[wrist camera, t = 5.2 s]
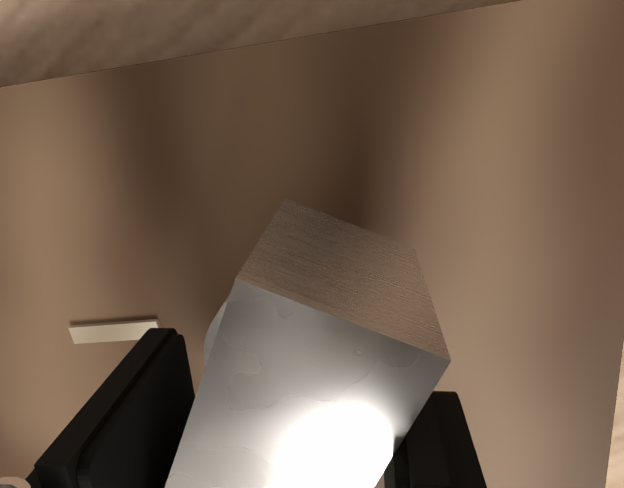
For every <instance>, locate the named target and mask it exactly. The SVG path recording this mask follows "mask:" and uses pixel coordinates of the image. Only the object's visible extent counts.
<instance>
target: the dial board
mask: <svg viewBox="0 0 624 488" xmlns="http://www.w3.org/2000/svg"><path fill="white" fill-rule="evenodd" d="M285 198H286V199H289V200H291V201H294V202H296V203H299V204H302V205H304V206H307V207H309V208H312V209H314V210H317V211H320V212H322V213H325V214H327V215H330V216H332V217H335V218H337V219H340V220H343V221H345V222H348V223H350V224H353V225H355V226H358V227H361V228H363V229H366V230H368V231H371V232H373V233H376V234H378V235H381V236H384V237H386V238H389V239H391V240H394V241H396V242H399V243H402V244H404V245H407V246H409V247H412V248H414V249H415V251H416V254H417V257H418V260H419V263H420V266H421V269H422V272H423V275H424V278H425V281H426V285H427V288H428V291H429V294H430V297H431V300H432V303H433V306H434V309H435V312H436V315H437V318H438V321H439V324H440V327H441V331H442V334H443V337H444V340H445V343H446V346H447V349H448V352H449V355H450V358H451V362H450V364H449V365H448V367H447V369H446V370H445V372H444V374H443V375H442V377H441V378H440V380H439V382H438V383H437V385H436V387H435V388H434V390H433V391H454V392H456V393H457V394H458V396H459V399H460V402H461V405H462V408H463V412H464V415H465V418H466V421H467V424H468V428H469V431H470V434H471V437H472V441H473V444H474V447H475V450H476V453H477V457H478V460H479V463H480V466H481V469H482V473H483V476H484V479H485V482H486V486H487V488H605V484H606V476H607V468H608V460H609V452H610V444H611V436H612V428H613V420H614V412H615V405H616V397H617V389H618V381H619V373H620V365H621V357H622V349H623V341H624V0H520V1H514V2H508V3H502V4H496V5H490V6H484V7H478V8H472V9H466V10H460V11H454V12H448V13H442V14H436V15H430V16H424V17H418V18H412V19H406V20H400V21H394V22H389V23H383V24H377V25H371V26H365V27H359V28H353V29H347V30H341V31H335V32H329V33H323V34H317V35H311V36H305V37H299V38H293V39H287V40H281V41H275V42H269V43H263V44H257V45H251V46H245V47H239V48H233V49H227V50H221V51H215V52H209V53H203V54H197V55H191V56H185V57H179V58H173V59H167V60H161V61H155V62H149V63H143V64H137V65H131V66H125V67H119V68H113V69H107V70H101V71H95V72H89V73H83V74H77V75H71V76H65V77H59V78H53V79H47V80H41V81H35V82H29V83H23V84H17V85H11V86H5V87H0V478H2V477H18V478H21V479H26V478H27V477H28V475H29V474H30V473H31V472H32V471H33V469H34V468H35V467H34V464H35V463H36V461H37V460H38V459H39V458H40V457H41V456H42V454H43V453H44V452H45V451H46V450H47V448H48V447H49V446H50V445H51V444H52V443H53V441H54V440H55V439H56V438H57V437H58V435H59V434H60V433H61V432H62V431H63V430H64V428H65V427H66V426H67V425H68V424H69V422H70V421H71V420H72V419H73V418H74V416H75V415H76V414H77V413H78V412H79V411H80V409H81V408H82V407H83V406H84V405H85V403H86V402H87V401H88V400H89V399H90V398H91V396H92V395H93V394H94V393H95V392H96V390H97V389H98V388H99V387H100V386H101V385H102V383H103V382H104V381H105V380H106V379H107V377H108V376H109V375H110V374H111V373H112V371H113V370H114V369H115V368H116V367H117V366H118V364H119V363H120V362H121V361H122V360H123V358H124V357H125V356H126V355H127V354H128V353H129V351H130V350H131V349H132V348H133V347H134V345H135V344H136V343H137V342H138V341H139V340H140V338H141V337H142V336H143V335H144V334H145V332H146V331H147V330H148V329H150V328H174V329H176V331H177V333H178V334H182V335H183V336H184V339H185V344H186V349H187V355H188V360H189V366H190V371H191V377H192V382H193V388H194V393H195V397H196V394H197V391H198V388H199V385H200V382H201V379H202V376H203V373H204V370H205V362H204V342H205V338H206V334H207V331H208V329H209V327H210V324H211V323H212V321H213V319H214V318H215V316H216V314H217V313H218V311H219V310H220V308H221V306H222V305H223V303H224V301H225V300H226V298H227V296H228V295H229V293H230V291H231V290H232V287H233V285H234V282H235V279H236V277H237V275H238V274H239V272H240V271H241V269H242V267H243V266H244V264H245V262H246V261H247V259H248V258H249V256H250V254H251V253H252V251H253V250H254V248H255V246H256V245H257V243H258V242H259V240H260V238H261V237H262V235H263V234H264V232H265V230H266V229H267V227H268V226H269V224H270V222H271V221H272V219H273V218H274V216H275V214H276V213H277V211H278V209H279V208H280V206H281V205H282V203H283V201H284V200H285ZM374 488H385V487H384V472H383V473H382V475H381V476H380V478H379V480H378V481H377V483H376V485H375V486H374Z"/></svg>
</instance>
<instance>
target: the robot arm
mask: <svg viewBox="0 0 624 488" xmlns="http://www.w3.org/2000/svg"><path fill="white" fill-rule="evenodd" d="M194 400H195V393H194V388H193V382H192V377H191V371H190V366H189V360H188V355H187V349H186V344H185V339H184V336H183V335H182V334H178V333H177V331H176V329H174V328H150V329H148V330H147V331H146V332H145V334H144V335H143V336H142V337H141V338H140V340H139V341H138V342H137V343H136V344H135V345H134V347H133V348H132V349H131V350H130V351H129V353H128V354H127V355H126V356H125V357H124V358H123V360H122V361H121V362H120V363H119V364H118V366H117V367H116V368H115V369H114V370H113V371H112V373H111V374H110V375H109V376H108V377H107V379H106V380H105V381H104V382H103V383H102V385H101V386H100V387H99V388H98V389H97V390H96V392H95V393H94V394H93V395H92V396H91V398H90V399H89V400H88V401H87V402H86V403H85V405H84V406H83V407H82V408H81V409H80V411H79V412H78V413H77V414H76V415H75V416H74V418H73V419H72V420H71V421H70V422H69V424H68V425H67V426H66V427H65V428H64V430H63V431H62V432H61V433H60V434H59V435H58V437H57V438H56V439H55V440H54V441H53V443H52V444H51V445H50V446H49V447H48V448H47V450H46V451H45V452H44V453H43V454H42V456H41V457H40V458H39V459H38V460H37V461H36V463H35V464H34V467H35V468H34V469H33V471H32V472H31V473H30V474H29V475H28V477H27V478H26V479H21V478H18V477H2V478H0V488H165V485H166V482H167V479H168V476H169V473H170V470H171V467H172V464H173V462H174V459H175V456H176V453H177V450H178V447H179V444H180V441H181V438H182V435H183V432H184V429H185V426H186V423H187V420H188V417H189V414H190V411H191V408H192V405H193V403H194ZM384 487H385V488H487V486H486V482H485V479H484V476H483V473H482V469H481V466H480V463H479V460H478V457H477V453H476V450H475V447H474V444H473V441H472V437H471V434H470V431H469V428H468V424H467V421H466V418H465V415H464V412H463V408H462V405H461V402H460V399H459V396H458V394H457V393H456V392H454V391H433V392H432V393H431V395H430V396H429V398H428V400H427V401H426V403H425V405H424V406H423V408H422V410H421V411H420V413H419V414H418V416H417V418H416V419H415V421H414V423H413V424H412V426H411V427H410V429H409V431H408V432H407V434H406V436H405V437H404V439H403V441H402V442H401V444H400V445H399V447H398V449H397V450H396V452H395V453H393V457H392V459H391V460H390V462H389V463H388V465H387V467H386V468H385V470H384Z"/></svg>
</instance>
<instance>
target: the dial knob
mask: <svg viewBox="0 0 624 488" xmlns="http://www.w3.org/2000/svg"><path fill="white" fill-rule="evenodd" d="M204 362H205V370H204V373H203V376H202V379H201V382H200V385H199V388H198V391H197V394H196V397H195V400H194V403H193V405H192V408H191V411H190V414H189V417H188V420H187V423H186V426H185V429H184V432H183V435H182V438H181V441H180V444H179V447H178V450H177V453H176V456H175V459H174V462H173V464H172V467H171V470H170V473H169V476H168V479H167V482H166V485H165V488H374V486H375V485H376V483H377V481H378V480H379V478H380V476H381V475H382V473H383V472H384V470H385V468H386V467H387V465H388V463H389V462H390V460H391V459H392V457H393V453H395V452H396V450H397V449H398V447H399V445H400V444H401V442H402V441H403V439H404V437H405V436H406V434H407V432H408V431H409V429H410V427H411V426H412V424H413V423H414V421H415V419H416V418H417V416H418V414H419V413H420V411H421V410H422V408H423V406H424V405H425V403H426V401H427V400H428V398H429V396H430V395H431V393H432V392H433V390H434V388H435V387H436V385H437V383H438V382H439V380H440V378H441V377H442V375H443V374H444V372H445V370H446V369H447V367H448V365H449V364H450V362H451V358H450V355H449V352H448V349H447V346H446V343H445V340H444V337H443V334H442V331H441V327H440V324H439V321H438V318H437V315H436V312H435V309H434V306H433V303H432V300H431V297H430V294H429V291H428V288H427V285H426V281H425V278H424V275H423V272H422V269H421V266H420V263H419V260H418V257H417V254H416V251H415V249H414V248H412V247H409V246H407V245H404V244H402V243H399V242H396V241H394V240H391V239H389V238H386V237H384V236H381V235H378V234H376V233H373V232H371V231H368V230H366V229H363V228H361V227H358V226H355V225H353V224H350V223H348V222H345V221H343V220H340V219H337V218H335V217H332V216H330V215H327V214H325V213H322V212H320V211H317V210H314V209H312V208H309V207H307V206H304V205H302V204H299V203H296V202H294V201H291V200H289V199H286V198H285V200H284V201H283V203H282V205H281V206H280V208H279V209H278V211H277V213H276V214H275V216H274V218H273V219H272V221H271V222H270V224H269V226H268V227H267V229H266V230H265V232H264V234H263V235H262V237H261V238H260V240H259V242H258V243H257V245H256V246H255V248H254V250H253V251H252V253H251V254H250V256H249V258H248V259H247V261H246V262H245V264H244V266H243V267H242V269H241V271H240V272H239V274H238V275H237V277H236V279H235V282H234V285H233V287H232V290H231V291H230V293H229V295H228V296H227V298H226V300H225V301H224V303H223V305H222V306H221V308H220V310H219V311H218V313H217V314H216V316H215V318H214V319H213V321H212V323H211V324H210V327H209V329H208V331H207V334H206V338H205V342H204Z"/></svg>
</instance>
